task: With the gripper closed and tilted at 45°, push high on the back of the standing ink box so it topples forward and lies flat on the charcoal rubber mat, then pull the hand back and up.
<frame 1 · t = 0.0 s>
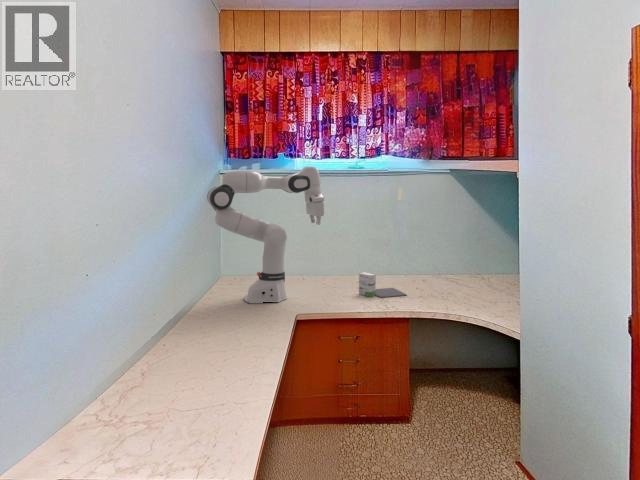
hand: (315, 223, 233), 39 cm above the countertop, tool pointing down, fingers open, 8 cm apart
ink box: (366, 295, 239), on the countertop
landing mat: (386, 293, 243), on the countertop
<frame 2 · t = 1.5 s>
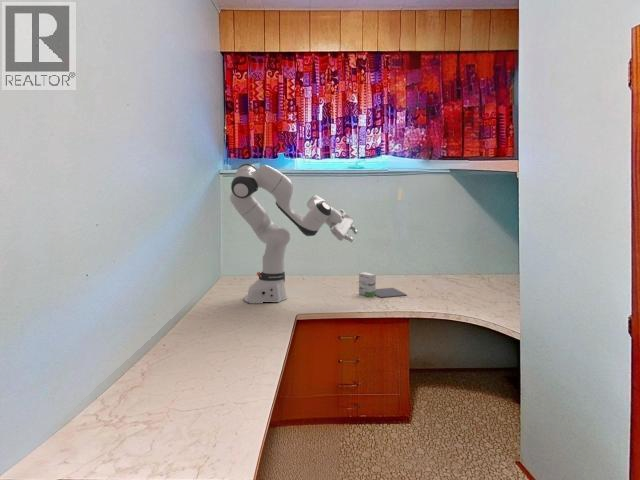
hand: (354, 236, 227), 33 cm above the countertop, tool tilted 50°, fingers open, 8 cm apart
nothing on the countertop moved.
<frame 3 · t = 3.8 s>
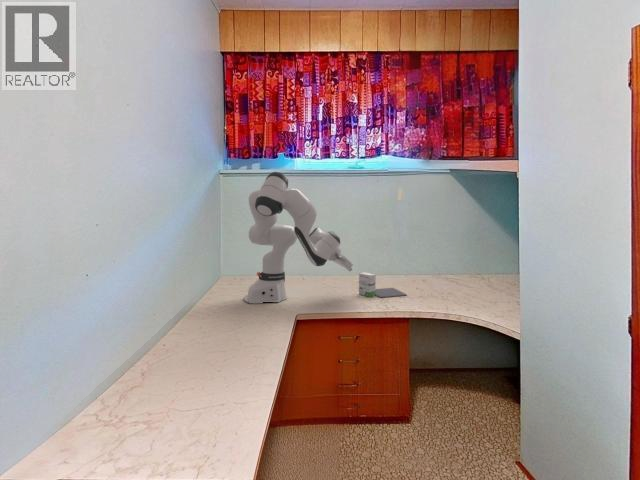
hand: (350, 270, 233), 15 cm above the countertop, tool tilted 45°, fingers closed
nothing on the countertop moved.
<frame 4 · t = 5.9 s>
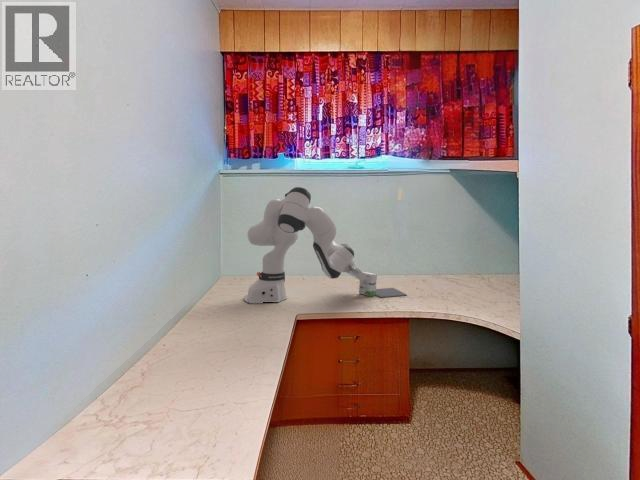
hand: (362, 281, 237), 8 cm above the countertop, tool tilted 45°, fingers closed
ink box: (366, 294, 239), on the countertop, touching gripper
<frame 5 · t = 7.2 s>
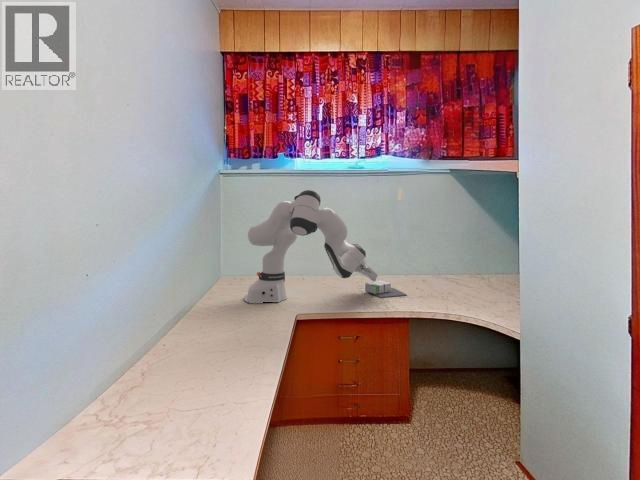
hand: (374, 280, 239), 8 cm above the countertop, tool tilted 45°, fingers closed
ink box: (369, 288, 240), point 3 cm above the countertop, touching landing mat
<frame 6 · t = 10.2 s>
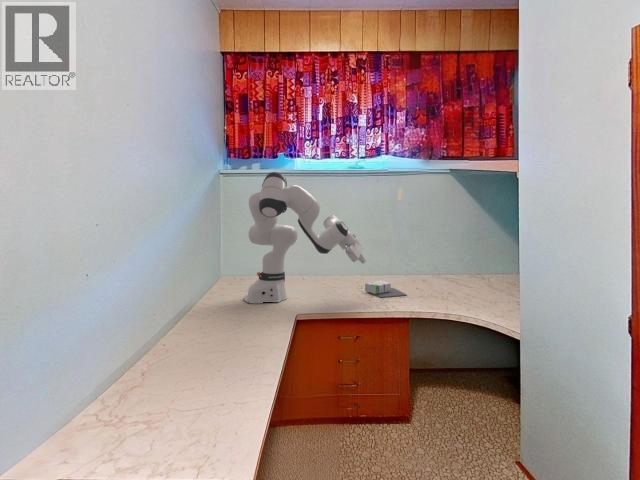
hand: (364, 262, 229), 19 cm above the countertop, tool tilted 40°, fingers closed
nothing on the countertop moved.
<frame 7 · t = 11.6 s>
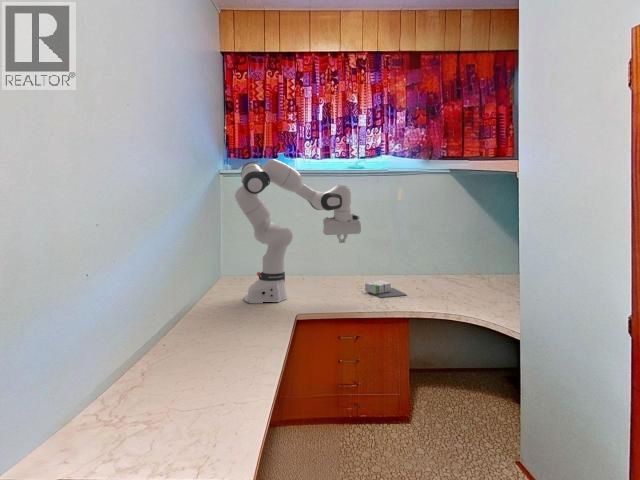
hand: (342, 242, 230), 29 cm above the countertop, tool pointing down, fingers closed
nothing on the countertop moved.
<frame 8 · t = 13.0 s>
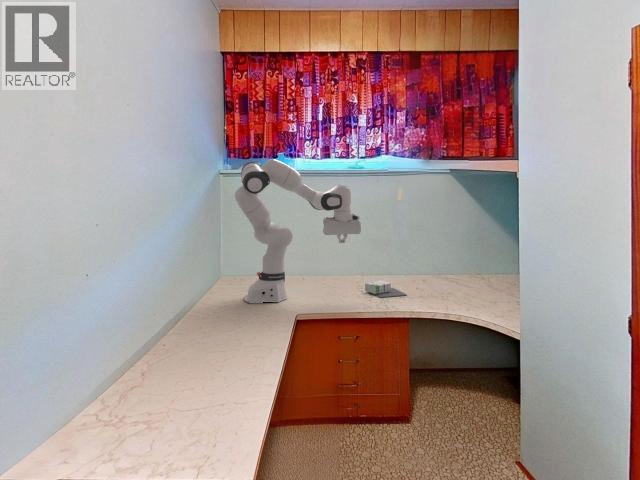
hand: (341, 242, 230), 29 cm above the countertop, tool pointing down, fingers closed
nothing on the countertop moved.
at the end: ink box tilted 90°; ink box touching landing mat; ink box inside the target area (2.2 cm from its centre), point 3.1 cm above the countertop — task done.
